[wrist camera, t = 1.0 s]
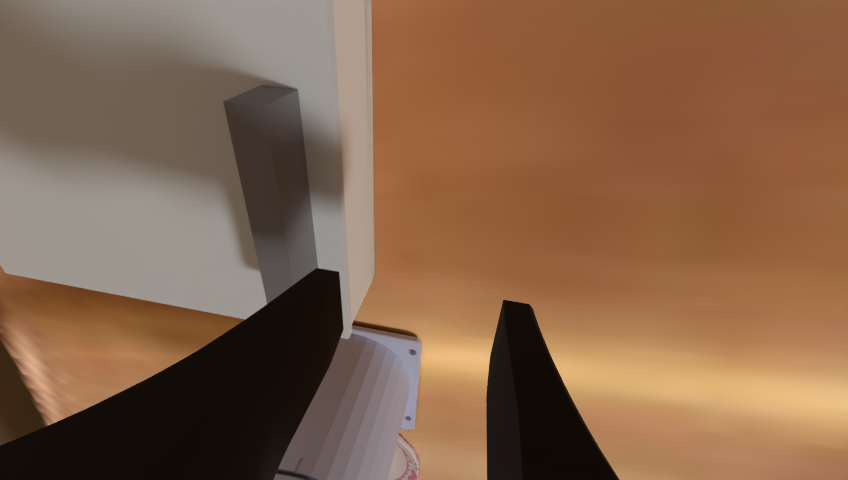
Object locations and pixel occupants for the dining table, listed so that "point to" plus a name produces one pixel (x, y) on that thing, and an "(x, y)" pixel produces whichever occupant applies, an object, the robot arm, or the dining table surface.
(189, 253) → the lid
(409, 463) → the teacup
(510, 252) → the dining table surface
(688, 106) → the dining table surface
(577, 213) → the dining table surface
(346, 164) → the box
